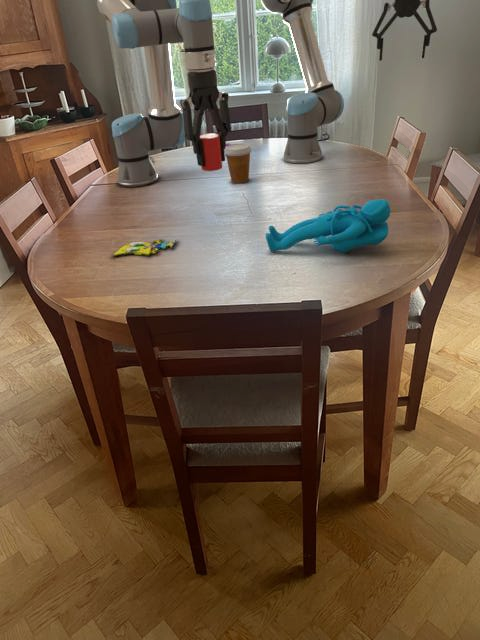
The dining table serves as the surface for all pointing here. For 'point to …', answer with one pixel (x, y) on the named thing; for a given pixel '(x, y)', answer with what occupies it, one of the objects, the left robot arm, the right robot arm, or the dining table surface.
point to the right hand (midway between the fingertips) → (401, 59)
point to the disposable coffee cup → (238, 162)
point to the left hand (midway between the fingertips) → (211, 162)
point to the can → (211, 152)
